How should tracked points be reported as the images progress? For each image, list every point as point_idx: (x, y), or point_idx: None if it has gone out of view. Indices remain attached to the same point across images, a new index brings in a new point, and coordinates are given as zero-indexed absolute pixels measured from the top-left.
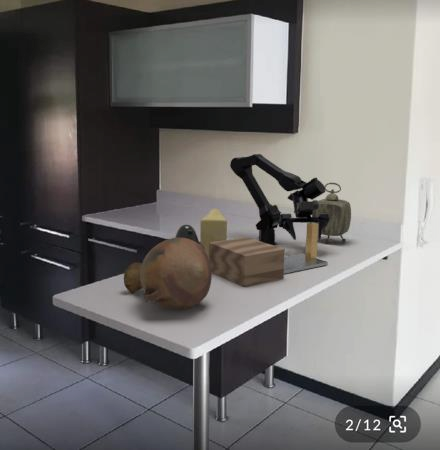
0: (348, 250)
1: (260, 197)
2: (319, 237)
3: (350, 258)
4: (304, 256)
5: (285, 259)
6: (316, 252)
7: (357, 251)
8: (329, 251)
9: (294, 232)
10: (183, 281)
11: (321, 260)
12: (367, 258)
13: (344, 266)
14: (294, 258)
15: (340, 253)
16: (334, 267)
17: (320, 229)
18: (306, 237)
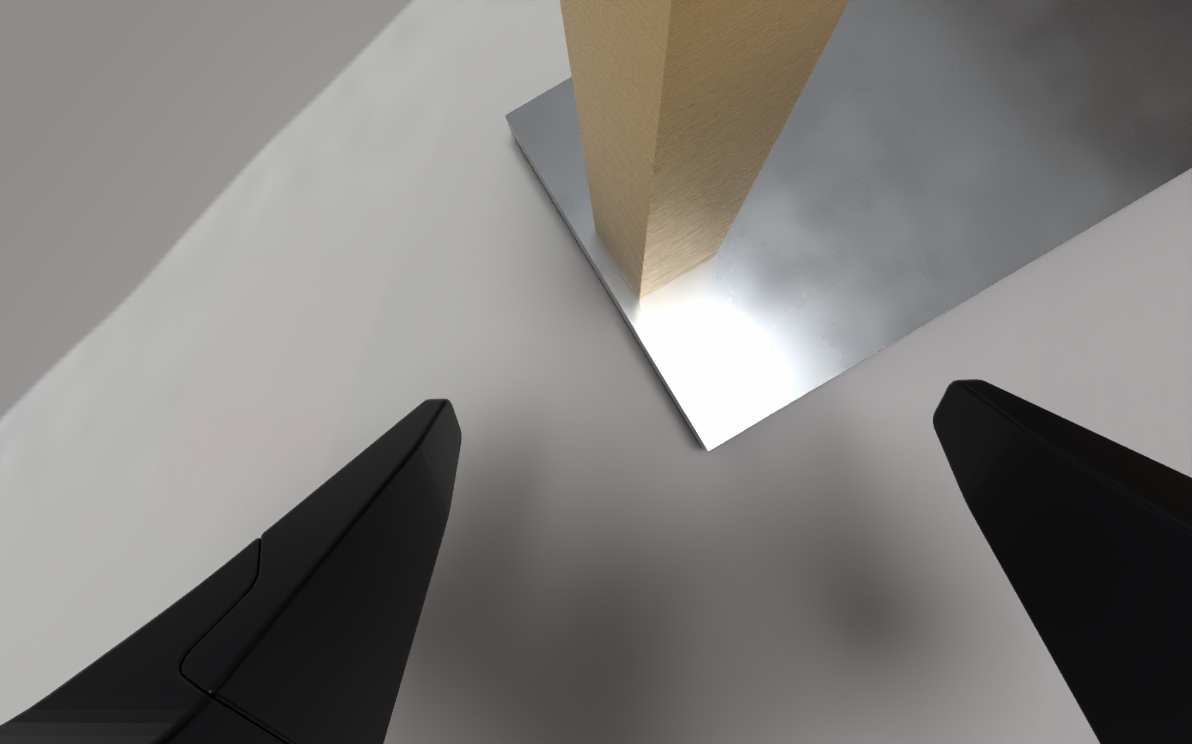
0: None
1: None
2: (435, 402)
3: (201, 387)
4: (709, 329)
5: (962, 202)
6: (592, 191)
7: (6, 680)
8: None
9: (1108, 465)
10: None
11: (556, 167)
12: (37, 383)
13: (366, 112)
14: (846, 246)
15: None
16: (469, 79)
17: (277, 549)
18: (808, 69)
